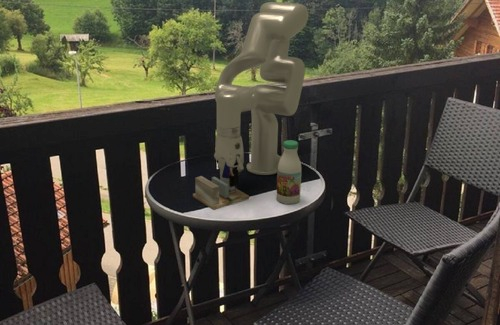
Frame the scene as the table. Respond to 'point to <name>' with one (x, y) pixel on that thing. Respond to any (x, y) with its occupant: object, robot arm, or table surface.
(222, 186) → the grey rectangular plate
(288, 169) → the milk bottle
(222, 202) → the board
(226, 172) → the energy drink
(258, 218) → the table surface
